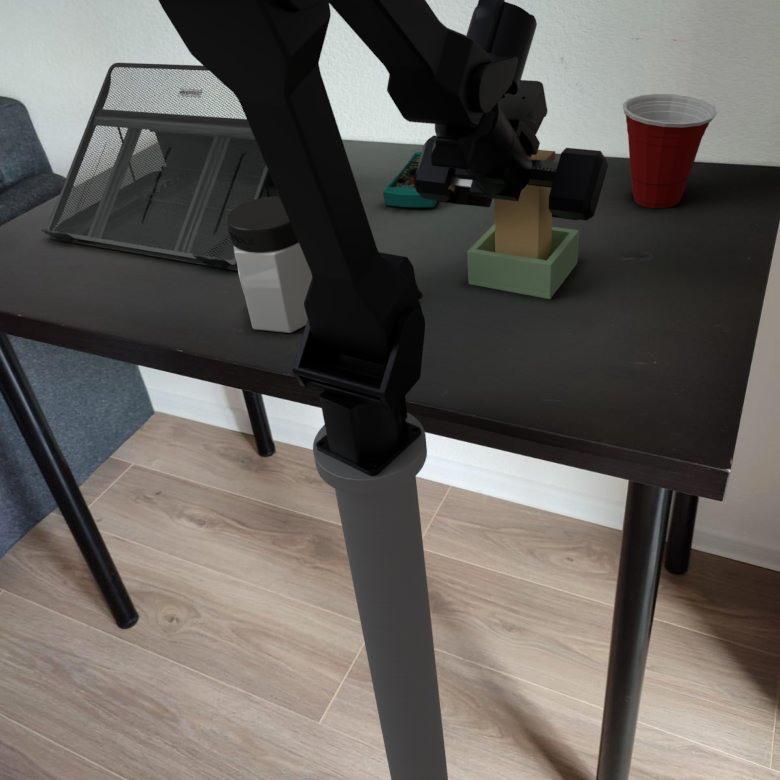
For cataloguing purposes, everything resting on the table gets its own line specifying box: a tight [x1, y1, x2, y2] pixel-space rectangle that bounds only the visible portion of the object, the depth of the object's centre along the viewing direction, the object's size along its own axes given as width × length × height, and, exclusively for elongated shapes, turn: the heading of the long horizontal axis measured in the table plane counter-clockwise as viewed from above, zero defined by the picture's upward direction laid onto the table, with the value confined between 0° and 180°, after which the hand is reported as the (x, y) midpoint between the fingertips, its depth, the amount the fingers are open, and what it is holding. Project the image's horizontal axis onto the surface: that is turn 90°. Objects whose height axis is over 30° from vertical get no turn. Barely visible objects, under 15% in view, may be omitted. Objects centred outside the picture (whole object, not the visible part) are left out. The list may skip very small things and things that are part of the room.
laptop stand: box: [40, 62, 279, 272], centre depth 105 cm, size 33×28×18 cm
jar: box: [226, 195, 312, 334], centre depth 82 cm, size 9×8×12 cm
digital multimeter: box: [382, 151, 438, 209], centre depth 109 cm, size 7×15×3 cm, turn 161°
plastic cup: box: [622, 93, 718, 209], centre depth 96 cm, size 11×11×12 cm
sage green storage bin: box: [466, 223, 580, 300], centre depth 86 cm, size 9×10×4 cm
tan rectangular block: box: [493, 149, 556, 261], centre depth 83 cm, size 4×5×13 cm
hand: (528, 207), depth 84 cm, fingers open, 9 cm apart
